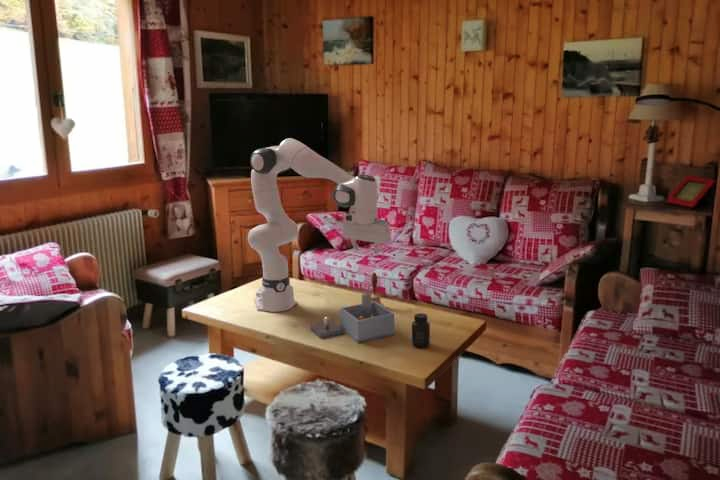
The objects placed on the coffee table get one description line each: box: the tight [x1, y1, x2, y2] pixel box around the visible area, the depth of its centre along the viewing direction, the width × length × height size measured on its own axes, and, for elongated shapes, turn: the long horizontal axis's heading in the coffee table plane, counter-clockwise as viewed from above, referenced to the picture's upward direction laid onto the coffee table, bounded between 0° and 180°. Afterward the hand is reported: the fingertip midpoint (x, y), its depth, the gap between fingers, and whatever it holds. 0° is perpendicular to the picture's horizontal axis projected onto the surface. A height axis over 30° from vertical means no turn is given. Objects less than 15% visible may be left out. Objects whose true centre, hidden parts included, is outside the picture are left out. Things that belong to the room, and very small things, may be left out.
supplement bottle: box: [411, 312, 431, 349], centre depth 221 cm, size 7×7×12 cm
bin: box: [339, 301, 395, 344], centre depth 234 cm, size 16×16×9 cm
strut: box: [359, 293, 374, 320], centre depth 233 cm, size 4×4×15 cm
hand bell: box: [371, 272, 385, 307], centre depth 260 cm, size 8×8×16 cm
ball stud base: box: [310, 316, 345, 339], centre depth 235 cm, size 10×10×6 cm
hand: (366, 251), depth 231 cm, fingers open, 8 cm apart
